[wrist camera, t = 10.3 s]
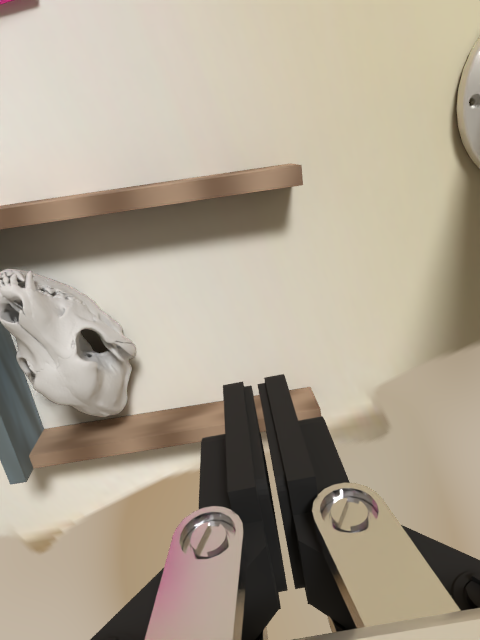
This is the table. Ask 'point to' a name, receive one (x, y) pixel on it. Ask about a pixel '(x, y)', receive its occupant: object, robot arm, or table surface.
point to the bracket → (4, 1)
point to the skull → (65, 343)
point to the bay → (136, 430)
